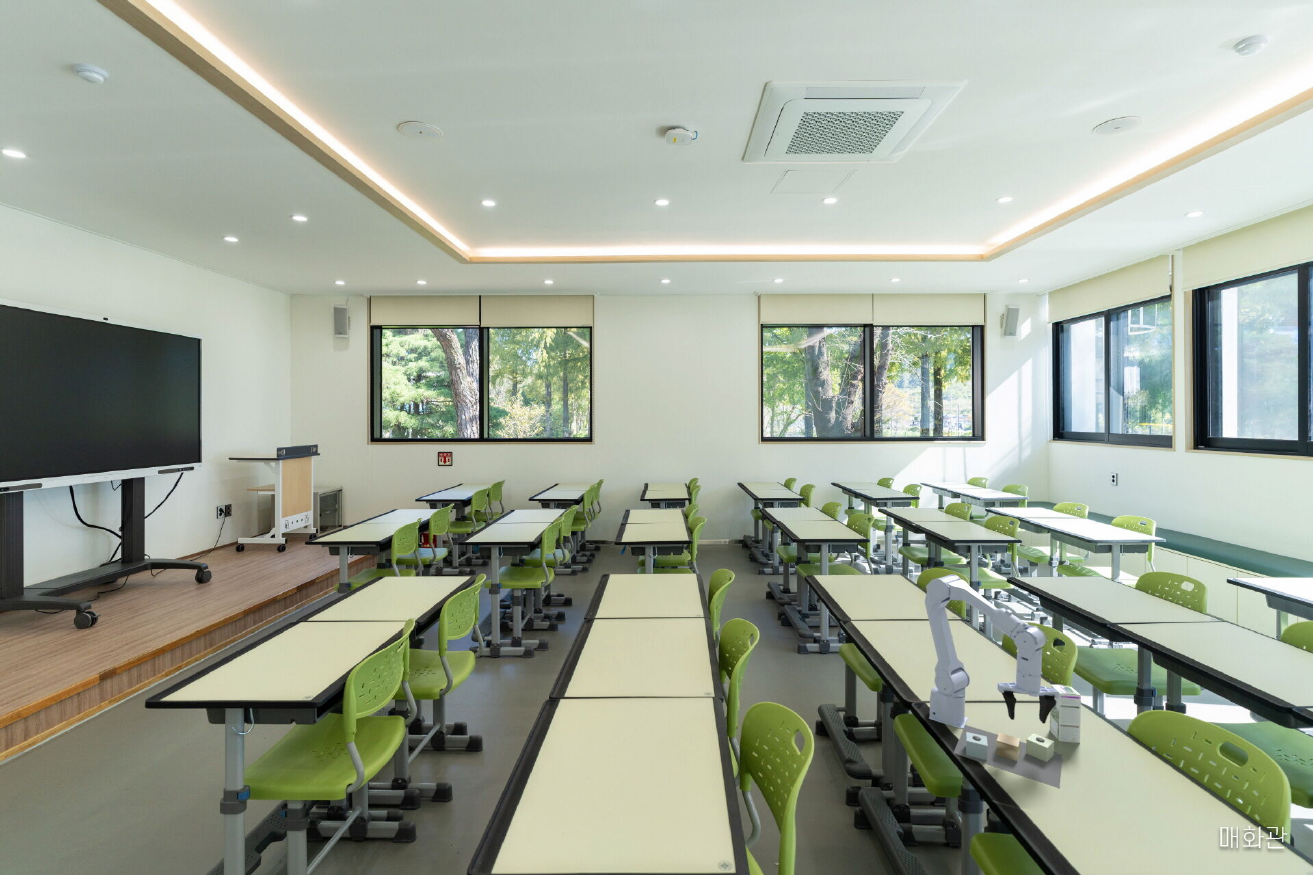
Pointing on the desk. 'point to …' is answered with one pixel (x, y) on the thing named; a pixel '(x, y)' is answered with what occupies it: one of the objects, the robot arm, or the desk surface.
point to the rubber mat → (1023, 766)
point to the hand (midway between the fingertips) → (1026, 719)
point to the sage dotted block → (1040, 747)
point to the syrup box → (1066, 715)
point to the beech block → (1008, 746)
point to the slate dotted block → (976, 745)
